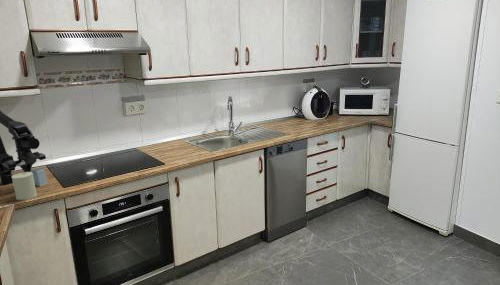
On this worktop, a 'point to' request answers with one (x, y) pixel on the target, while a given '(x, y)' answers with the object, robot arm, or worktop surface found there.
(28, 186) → the can
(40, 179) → the light blue box
